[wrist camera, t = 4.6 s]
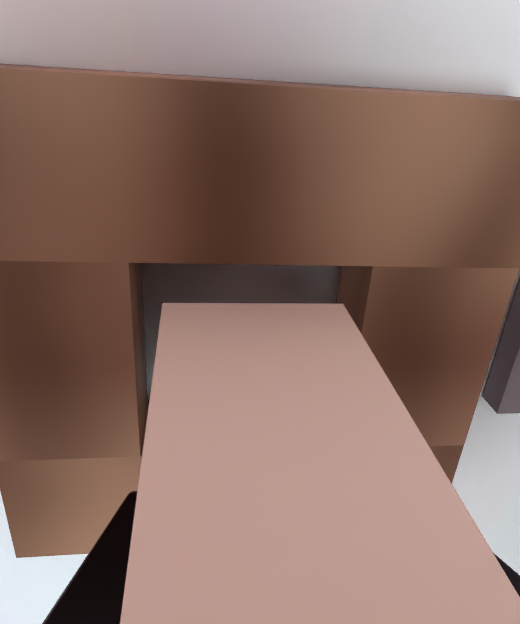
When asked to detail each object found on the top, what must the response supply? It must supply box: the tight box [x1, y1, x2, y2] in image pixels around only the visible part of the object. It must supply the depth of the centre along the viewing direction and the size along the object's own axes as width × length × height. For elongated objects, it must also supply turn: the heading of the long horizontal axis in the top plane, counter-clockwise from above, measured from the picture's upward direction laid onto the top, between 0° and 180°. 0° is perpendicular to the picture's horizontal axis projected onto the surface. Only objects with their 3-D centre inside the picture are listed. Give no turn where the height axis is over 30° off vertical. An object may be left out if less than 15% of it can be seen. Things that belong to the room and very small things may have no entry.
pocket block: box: [0, 64, 520, 558], centre depth 15 cm, size 14×14×2 cm
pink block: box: [120, 303, 520, 624], centre depth 9 cm, size 4×4×10 cm
